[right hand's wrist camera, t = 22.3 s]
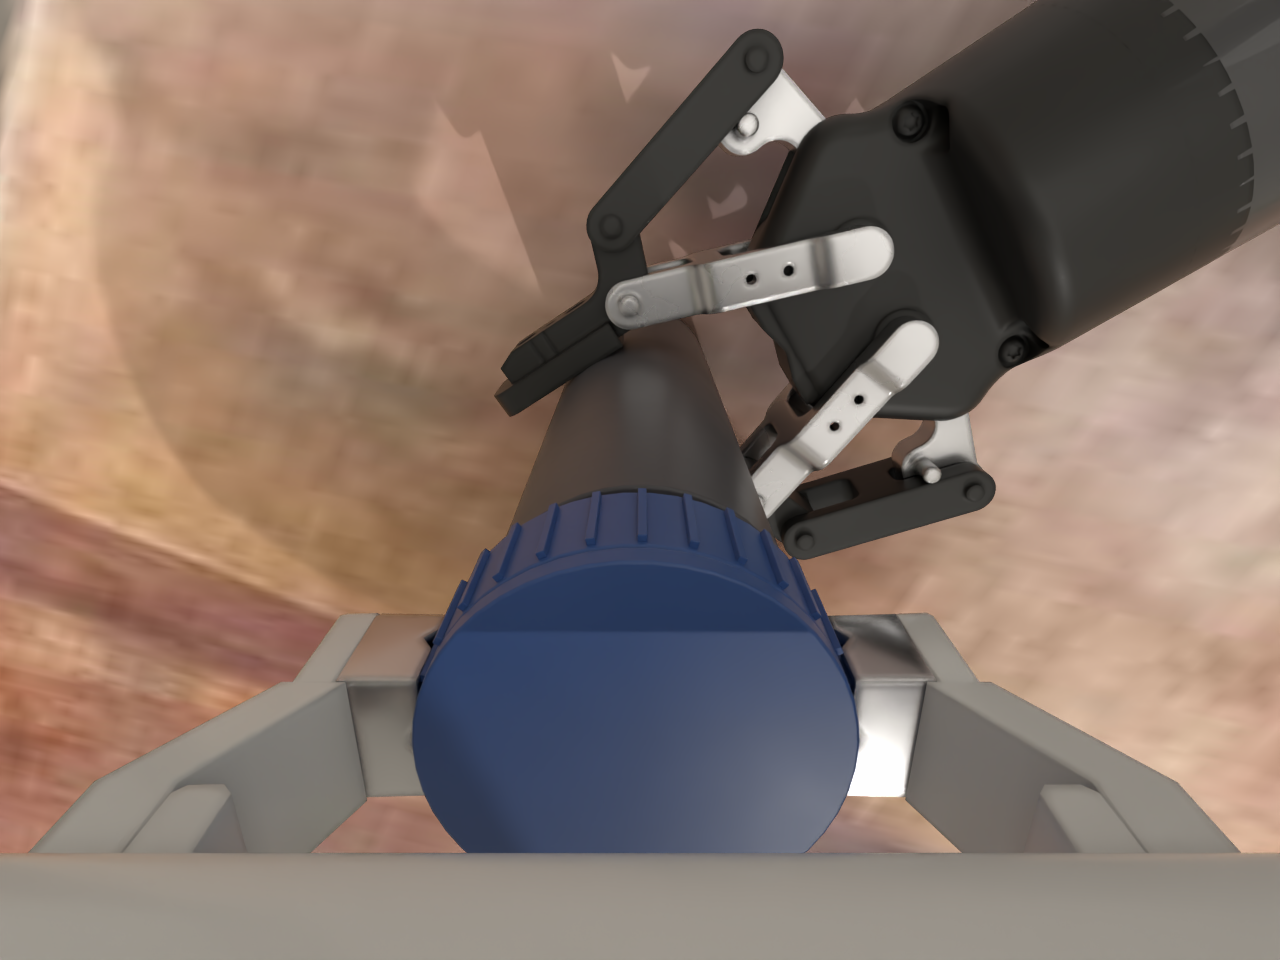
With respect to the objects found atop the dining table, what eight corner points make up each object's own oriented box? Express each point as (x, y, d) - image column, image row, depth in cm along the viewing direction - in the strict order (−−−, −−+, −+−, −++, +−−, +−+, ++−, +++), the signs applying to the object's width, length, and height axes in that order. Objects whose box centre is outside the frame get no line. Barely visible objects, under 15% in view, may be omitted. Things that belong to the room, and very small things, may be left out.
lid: (538, 415, 9) (512, 470, 7) (903, 586, 10) (961, 673, 8) (393, 728, 11) (342, 836, 9) (712, 848, 12) (725, 966, 10)
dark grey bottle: (614, 455, 28) (572, 882, 11) (551, 345, 26) (381, 640, 9) (727, 398, 27) (879, 763, 10) (668, 282, 25) (726, 472, 8)
